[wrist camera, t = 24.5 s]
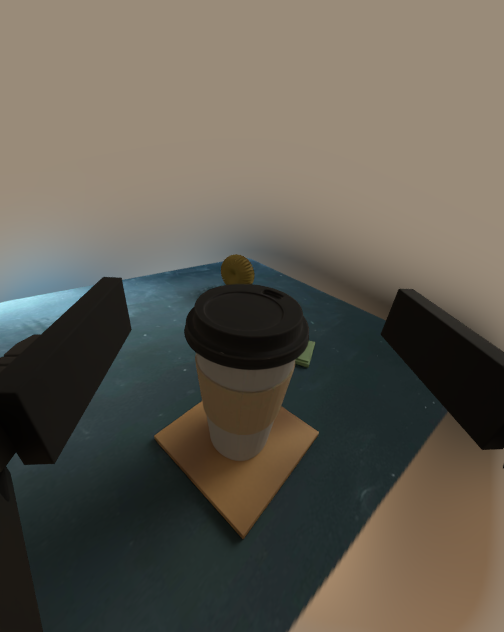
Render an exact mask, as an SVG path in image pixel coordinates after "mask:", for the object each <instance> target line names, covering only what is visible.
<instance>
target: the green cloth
mask: <svg viewBox="0 0 504 632" xmlns="http://www.w3.org/2000/svg"><path fill="white" fill-rule="evenodd" d="M314 345H315V342H312V341H309V342H308V346H307V348H306V349H305V351H304V352H303V353H302V354H301V355H300V356H299V357H298V358H297V359H295V364H298V365H301V366H304V367H309V363H310V360H311V356H312V352H313V349H314Z"/></svg>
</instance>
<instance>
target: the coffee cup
mask: <svg viewBox="0 0 504 632" xmlns="http://www.w3.org/2000/svg"><path fill="white" fill-rule="evenodd" d="M184 333H185V338H186V340H187V342H188V344H189V346H190V347H191V348H192V349H193V350H194V351H195V352H196V356H195V360H196V367H197V373H198V379H199V385H200V390H201V396H202V402H203V407H204V410H205V413H206V415H207V421H208V426H209V432H210V438H211V441H212V443H213V445H214V447H215V448H216V450H217V451H218V452H219V453H220V454H222V455H223V456H225V457H227V458H229V459H231V460H235V461H245V460H249V459H251V458H253V457H255V456H256V455H257V454H259V452H260V451H261V450H262V449H263V448H264V446H265V444H266V442H267V439H268V436H269V434H270V431H271V428H272V425H273V422H274V420H275V418H276V417H277V415H278V413H279V410H280V407H281V404H282V402H283V399H284V396H285V393H286V390H287V387H288V385H289V382H290V379H291V376H292V373H293V370H294V367H295V359H297V358H298V357H299V356H300V355H301V354H302V353H303V352H304V351H305V349H306V348H307V346H308V342H309V335H308V334H309V327H308V323H307V321H306V319H305V318H304V316H303V312H302V308H301V306H300V305H299V303H298V302H297V301H296V300H295V299H293V298H292V297H291V296H289V295H287V294H285V293H283V292H281V291H279V290H276V289H273V288H269V287H265V286H260V285H253V284H231V285H224V286H219V287H216V288H213V289H210V290H208V291H206V292H205V293H203V294H202V295H201V296H200V297H199V298H198V299H197V301H196V303H195V306H194V307H193V308H192V309H191V311H190V312H189V314H188V315H187V318H186V325H185V329H184Z"/></svg>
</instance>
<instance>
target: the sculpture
mask: <svg viewBox="0 0 504 632" xmlns="http://www.w3.org/2000/svg"><path fill="white" fill-rule="evenodd" d="M250 264H251V263H250V262H249V260H248V259H246V258H245V257H244V256H241V255H237V254H236V255H231V256H229V257H227V258H226V259H225V260H224V262H223V264H222V266H221V274H222V275H221V276H222V277H223V278H222V279H224V280H223V281H224V282H225V284H226V285H231V284H252V283H253V280H254V270H252V269H253V267H251V266H252V264H251V265H250ZM250 267H251V268H250Z"/></svg>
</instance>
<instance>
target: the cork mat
mask: <svg viewBox="0 0 504 632" xmlns="http://www.w3.org/2000/svg"><path fill="white" fill-rule="evenodd" d="M318 434H319V432H318V431H316V430H315V429H313V428H312V427H310V426H309V425H308V424H306V423H305V422H303V421H302V420H300V419H299V418H297V417H296V416H295V415H293V414H292V413H290V412H289V411H287V410H286V409H284V408H283V407H282V406H281V407H280V410H279V413H278V415H277V417H276V418H275V420H274V422H273V425H272V428H271V431H270V434H269V436H268V439H267V442H266V444H265V446H264V448H263V449H262V450H261V451H260V452H259V454H257V455H256V456H255V457H253V458H251V459H249V460H245V461H235V460H231V459H229V458H227V457H225V456H223V455H222V454H220V453H219V452H218V451H217V450H216V448H215V447H214V445H213V443H212V441H211V438H210V432H209V426H208V421H207V415H206V413H205V410H204V407H203V402H202V401H201V402H200V403H199V404H197V405H196V406H195V407H193V408H192V409H190V410H189V411H188V412H186V413H185V414H184V415H182V416H181V417H179V418H178V419H177V420H175V421H174V422H173V423H171V424H170V425H168V426H167V427H166V428H164V429H163V430H162V431H160V432H159V433H157V434H156V435H155V436H154V438H155V440H156V441H157V443H158V444H159V445H160V446H161V447H162V448H163V449H164V450H165V452H166V453H167V454H168V455H169V456H170V457H171V458H172V460H173V461H174V462H175V463H176V464H177V465H178V466H179V467H180V469H181V470H182V471H183V472H184V473H185V474H186V475H187V477H188V478H189V479H190V480H191V481H192V482H193V483H194V484H195V486H196V487H197V488H198V489H199V490H200V491H201V492H202V494H203V495H204V496H205V497H206V498H207V499H208V500H209V501H210V503H211V504H212V505H213V506H214V507H215V508H216V509H217V511H218V512H219V513H220V514H221V515H222V516H223V517H224V518H225V520H226V521H227V522H228V523H229V524H230V525H231V526H232V528H233V529H234V530H235V531H236V532H237V533H238V534H239V535H240V537H241V538H242V539H244V538H245V536H246V535H247V534H248V532H249V531H250V529H251V528H252V527H253V525H254V524H255V522H256V521H257V520H258V518H259V517H260V515H261V514H262V513H263V511H264V510H265V509H266V507H267V506H268V504H269V503H270V502H271V500H272V499H273V497H274V496H275V495H276V493H277V492H278V490H279V489H280V488H281V486H282V485H283V484H284V482H285V481H286V479H287V478H288V477H289V475H290V474H291V472H292V471H293V470H294V468H295V467H296V465H297V464H298V463H299V461H300V460H301V459H302V457H303V456H304V454H305V453H306V452H307V450H308V449H309V447H310V446H311V445H312V443H313V442H314V440H315V439H316V438H317V436H318Z"/></svg>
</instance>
